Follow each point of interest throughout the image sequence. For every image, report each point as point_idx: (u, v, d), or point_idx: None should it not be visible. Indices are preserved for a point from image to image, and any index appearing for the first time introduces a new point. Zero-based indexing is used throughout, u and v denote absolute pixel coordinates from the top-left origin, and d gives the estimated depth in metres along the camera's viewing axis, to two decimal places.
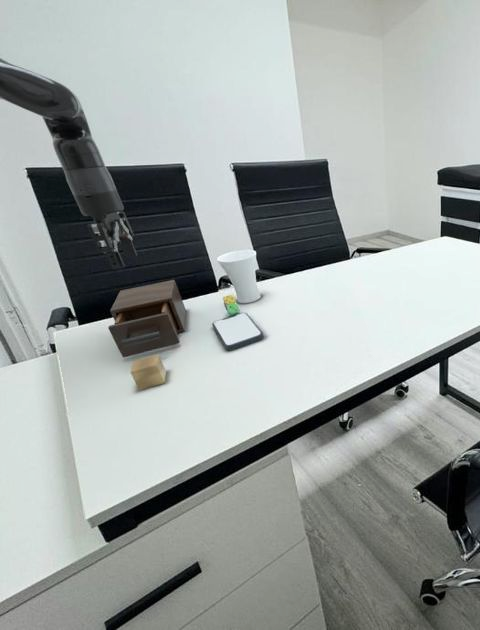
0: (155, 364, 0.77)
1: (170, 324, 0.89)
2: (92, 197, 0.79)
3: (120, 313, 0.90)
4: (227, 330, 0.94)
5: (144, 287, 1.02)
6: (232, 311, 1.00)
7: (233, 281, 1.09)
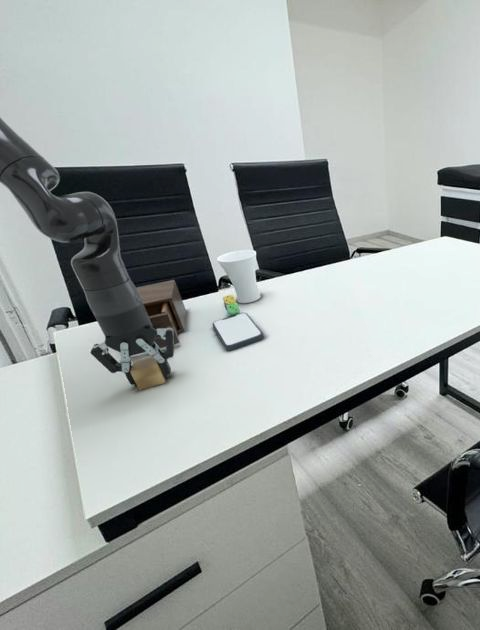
0: (155, 364, 0.77)
1: (170, 324, 0.89)
2: (95, 316, 0.70)
3: None
4: (227, 330, 0.94)
5: (144, 287, 1.02)
6: (232, 311, 1.00)
7: (233, 281, 1.09)
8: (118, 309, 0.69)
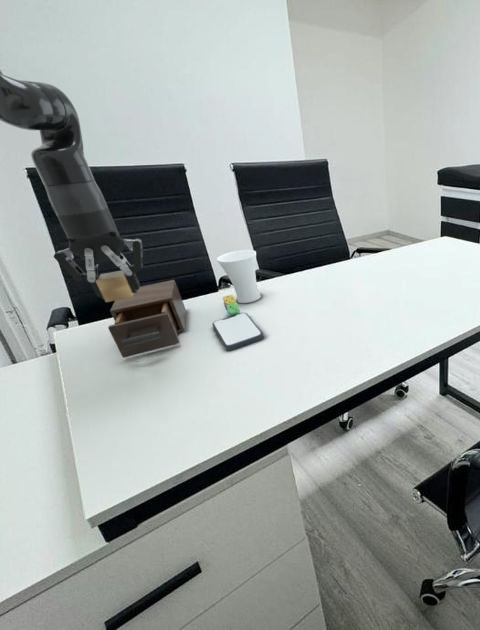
0: (122, 275, 0.75)
1: (170, 324, 0.89)
2: (58, 218, 0.69)
3: (120, 313, 0.90)
4: (227, 330, 0.94)
5: (144, 287, 1.02)
6: (232, 311, 1.00)
7: (233, 281, 1.09)
8: (81, 208, 0.67)
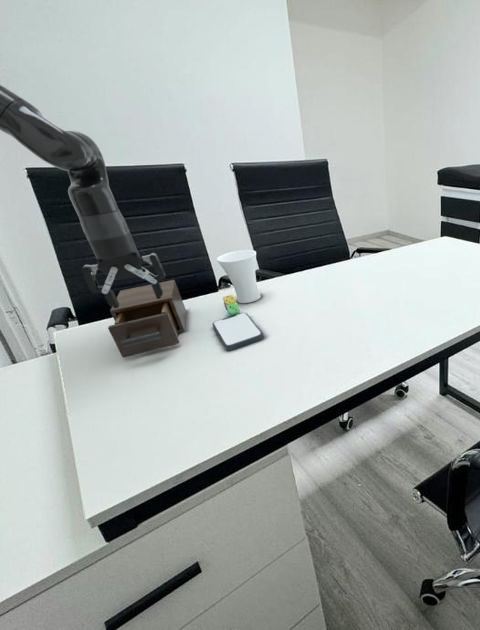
0: None
1: (170, 324, 0.89)
2: None
3: (120, 313, 0.90)
4: (227, 330, 0.94)
5: (144, 287, 1.02)
6: (232, 311, 1.00)
7: (233, 281, 1.09)
8: (108, 234, 0.80)
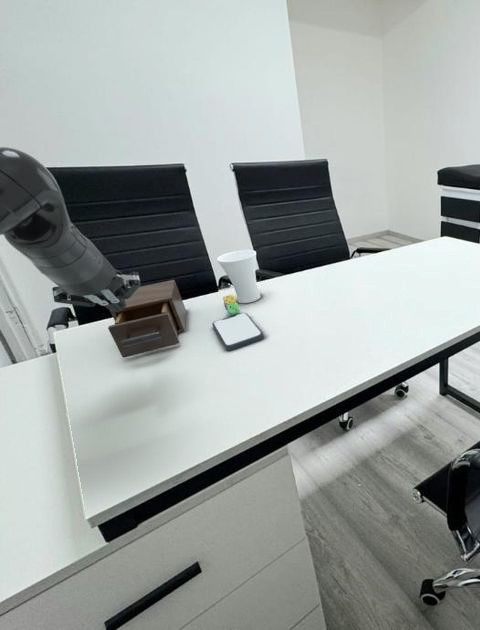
0: None
1: (170, 324, 0.89)
2: None
3: (120, 313, 0.90)
4: (227, 330, 0.94)
5: (144, 287, 1.02)
6: (232, 311, 1.00)
7: (233, 281, 1.09)
8: (81, 280, 0.58)
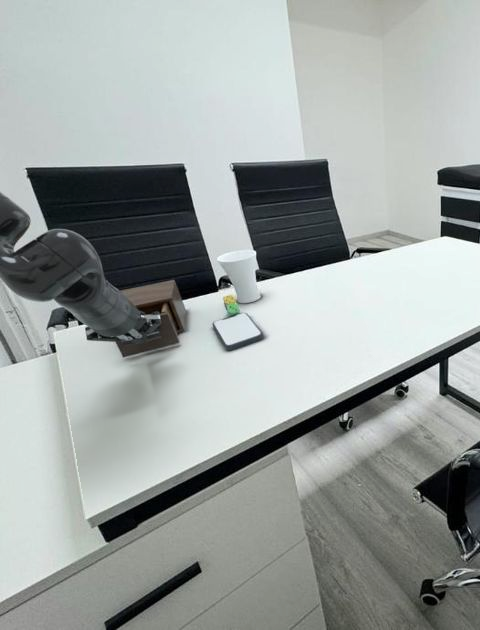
0: None
1: (170, 324, 0.89)
2: None
3: None
4: (227, 330, 0.94)
5: (144, 287, 1.02)
6: (232, 311, 1.00)
7: (233, 281, 1.09)
8: (112, 325, 0.67)
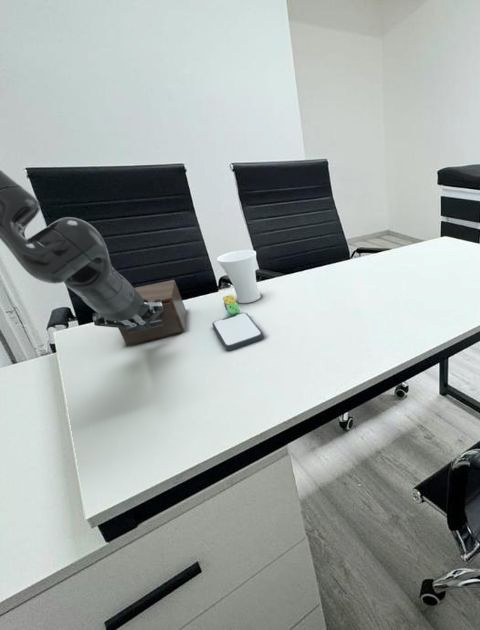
0: None
1: (172, 313, 0.95)
2: None
3: None
4: (227, 330, 0.94)
5: (144, 287, 1.02)
6: (232, 311, 1.00)
7: (233, 281, 1.09)
8: (118, 310, 0.73)
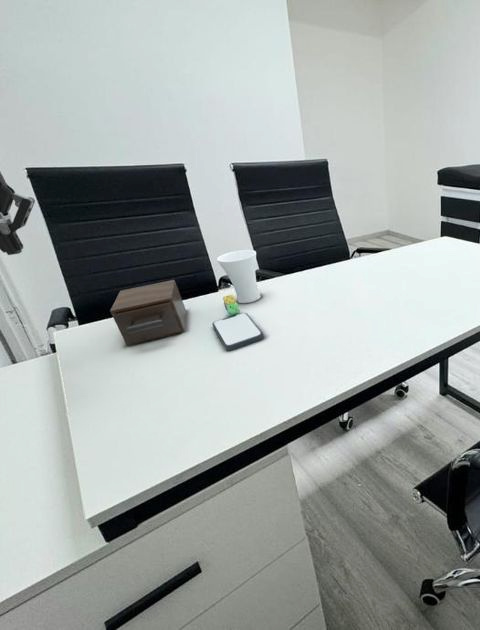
0: None
1: (172, 313, 0.95)
2: None
3: None
4: (227, 330, 0.94)
5: (144, 287, 1.02)
6: (232, 311, 1.00)
7: (233, 281, 1.09)
8: None
